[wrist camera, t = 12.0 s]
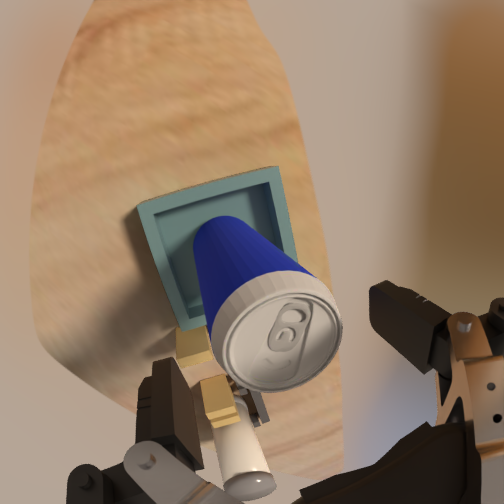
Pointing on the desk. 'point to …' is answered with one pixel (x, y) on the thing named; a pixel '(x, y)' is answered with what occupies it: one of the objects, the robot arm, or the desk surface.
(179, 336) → the fuse block
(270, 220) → the tray
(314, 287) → the beverage can
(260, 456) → the fuse
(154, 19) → the desk surface
